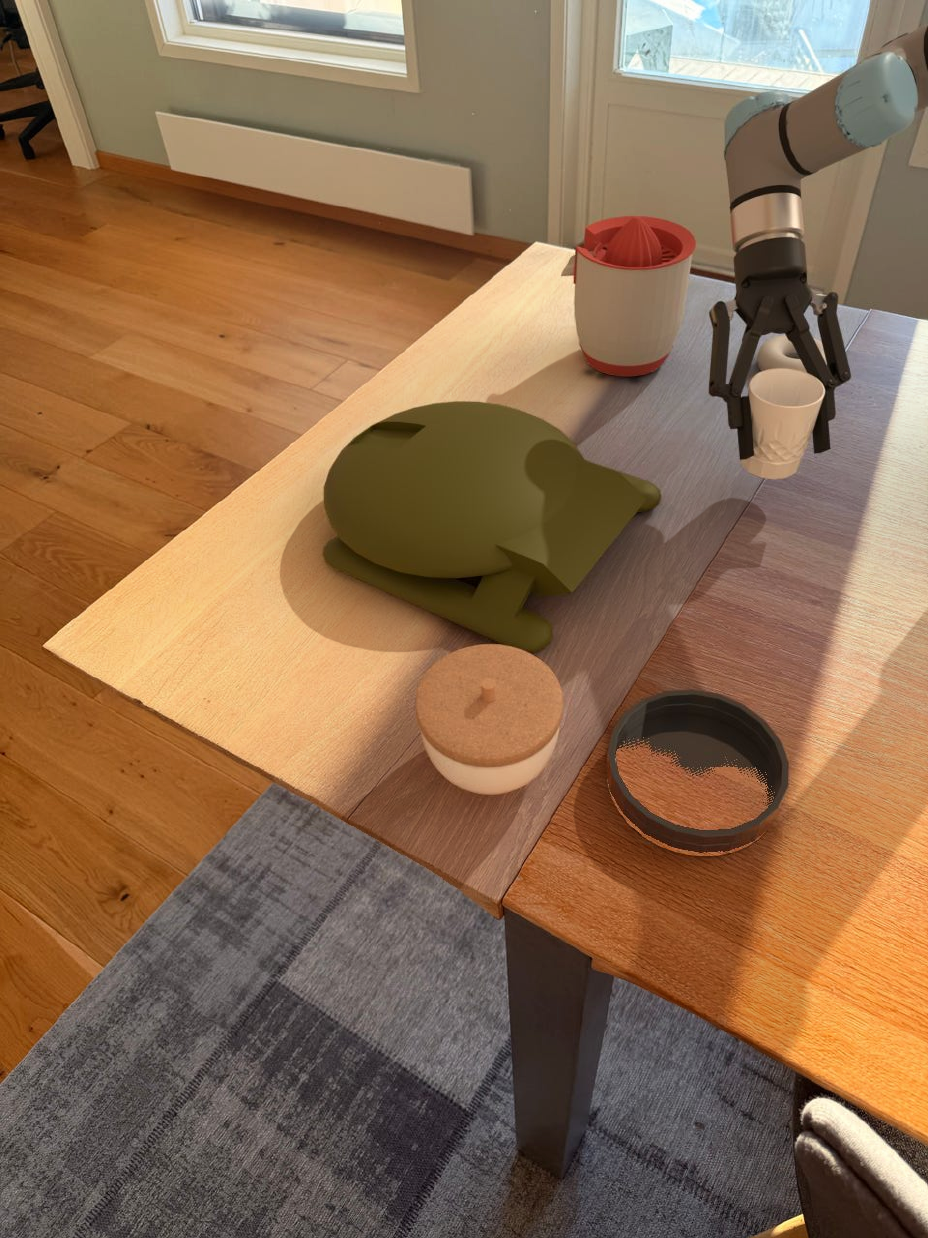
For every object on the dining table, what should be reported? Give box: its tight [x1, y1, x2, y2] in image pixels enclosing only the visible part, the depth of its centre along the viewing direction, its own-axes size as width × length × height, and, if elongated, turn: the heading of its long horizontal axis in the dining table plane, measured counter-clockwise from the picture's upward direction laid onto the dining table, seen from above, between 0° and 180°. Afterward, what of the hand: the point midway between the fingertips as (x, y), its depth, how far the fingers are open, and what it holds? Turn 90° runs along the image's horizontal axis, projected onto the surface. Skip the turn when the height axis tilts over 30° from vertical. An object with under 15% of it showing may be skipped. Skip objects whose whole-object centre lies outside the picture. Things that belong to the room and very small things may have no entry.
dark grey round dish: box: [605, 688, 790, 853], centre depth 80 cm, size 15×15×4 cm
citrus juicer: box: [560, 215, 697, 377], centre depth 123 cm, size 16×17×20 cm
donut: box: [756, 334, 827, 373], centre depth 125 cm, size 10×4×10 cm
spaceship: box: [322, 400, 662, 654], centre depth 103 cm, size 35×31×10 cm
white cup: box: [739, 368, 825, 480], centre depth 102 cm, size 8×8×10 cm
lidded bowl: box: [414, 643, 564, 796], centre depth 79 cm, size 13×13×11 cm
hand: (784, 454), depth 100 cm, fingers closed on white cup, 8 cm apart
